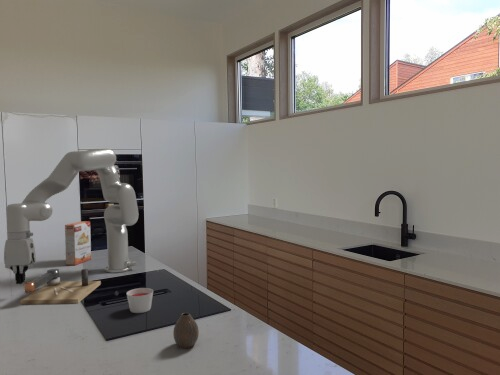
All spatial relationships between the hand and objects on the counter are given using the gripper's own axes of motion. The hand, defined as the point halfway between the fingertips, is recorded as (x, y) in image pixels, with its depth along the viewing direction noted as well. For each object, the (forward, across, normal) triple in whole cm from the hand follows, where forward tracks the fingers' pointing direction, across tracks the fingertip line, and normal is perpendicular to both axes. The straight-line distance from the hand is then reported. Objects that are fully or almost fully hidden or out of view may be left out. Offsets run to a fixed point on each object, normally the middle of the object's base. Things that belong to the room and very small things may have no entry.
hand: (20, 282), depth 153 cm
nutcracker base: (+6, -15, -4) cm, 16 cm away
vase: (+6, -70, +44) cm, 83 cm away
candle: (+6, -50, +16) cm, 53 cm away
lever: (+1, -7, -2) cm, 8 cm away
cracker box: (+6, +1, -56) cm, 56 cm away
